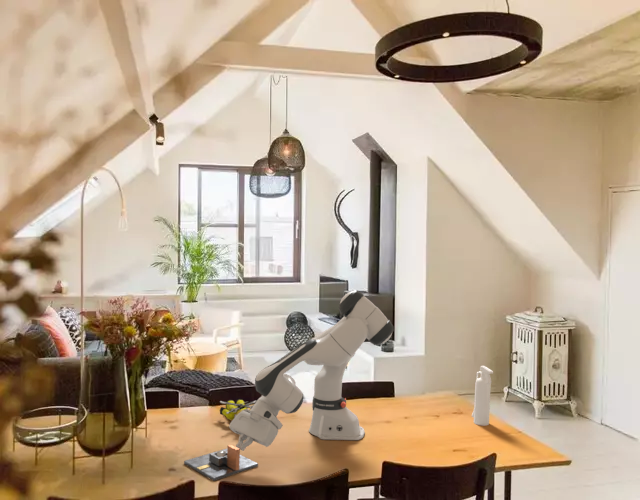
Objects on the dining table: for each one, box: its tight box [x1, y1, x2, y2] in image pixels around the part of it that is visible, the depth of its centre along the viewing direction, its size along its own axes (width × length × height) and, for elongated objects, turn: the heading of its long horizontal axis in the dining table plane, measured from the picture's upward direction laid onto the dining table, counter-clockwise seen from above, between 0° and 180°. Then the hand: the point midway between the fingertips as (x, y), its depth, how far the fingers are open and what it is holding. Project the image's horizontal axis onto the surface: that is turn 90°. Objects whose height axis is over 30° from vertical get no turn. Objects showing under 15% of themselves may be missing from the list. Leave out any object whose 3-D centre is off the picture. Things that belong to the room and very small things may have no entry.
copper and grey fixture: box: [208, 444, 241, 471], centre depth 200 cm, size 12×6×7 cm, turn 44°
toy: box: [219, 398, 257, 421], centre depth 246 cm, size 16×9×30 cm
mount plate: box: [183, 448, 259, 482], centre depth 202 cm, size 18×18×4 cm
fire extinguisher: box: [471, 365, 494, 427], centre depth 255 cm, size 7×12×25 cm, turn 16°
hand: (239, 448), depth 201 cm, fingers closed
